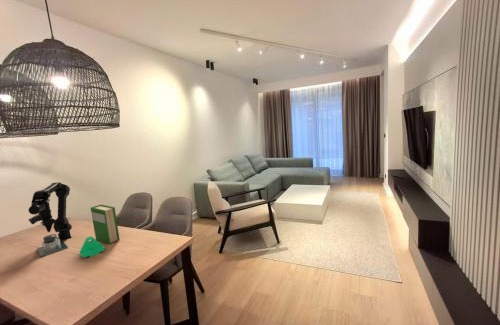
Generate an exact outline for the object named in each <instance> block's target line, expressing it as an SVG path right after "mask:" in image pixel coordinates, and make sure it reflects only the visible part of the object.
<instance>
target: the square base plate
mask: <svg viewBox="0 0 500 325" xmlns="http://www.w3.org/2000/svg"><path fill="white" fill-rule="evenodd" d="M41 245H42V246H40V247H37V248H36V251H37V252H38V255H39V256H40V258H43V257H46V256H48V255H52V254H54V253H57V252H60V251H62V250H67V249H69V246H68V245H67V244H66V243H65V242H64V240H62V241H61V240H60V239H59V238H58V237H57V240H55V241H53V242H49V243H44V240H43V241H42V242H41Z"/></svg>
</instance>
